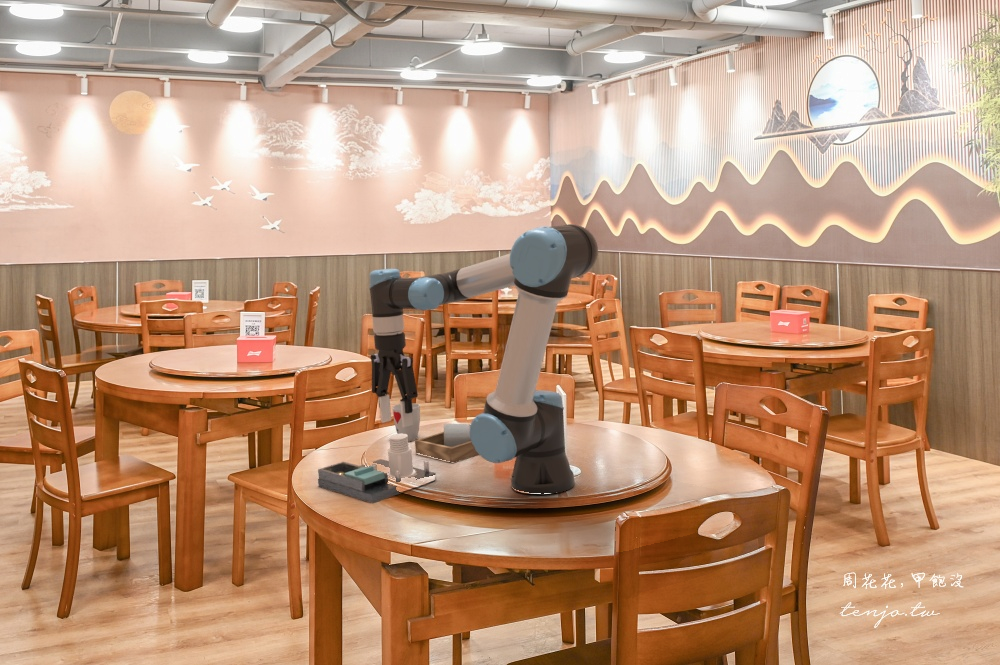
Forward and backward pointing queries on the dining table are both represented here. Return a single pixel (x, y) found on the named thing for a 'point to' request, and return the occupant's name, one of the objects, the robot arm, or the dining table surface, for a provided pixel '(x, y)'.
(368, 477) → the cover
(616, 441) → the dining table surface
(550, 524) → the dining table surface
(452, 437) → the ceramic mug
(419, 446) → the wooden caddy
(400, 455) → the downlight
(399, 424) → the cup
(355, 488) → the housing board
